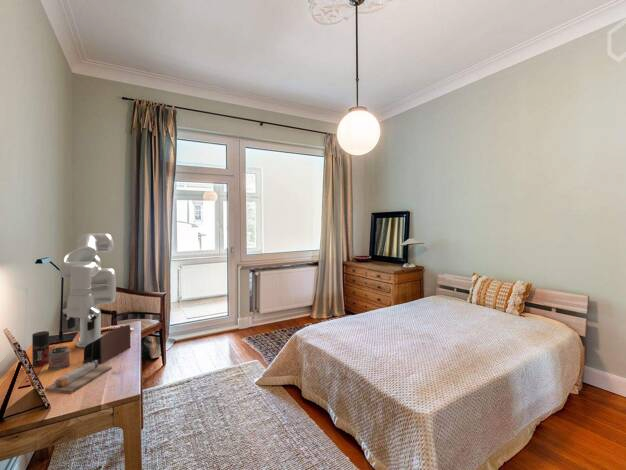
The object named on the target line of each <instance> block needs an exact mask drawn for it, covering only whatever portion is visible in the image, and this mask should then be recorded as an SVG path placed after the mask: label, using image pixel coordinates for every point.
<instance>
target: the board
mask: <svg viewBox="0 0 626 470" xmlns="http://www.w3.org/2000/svg"><path fill="white" fill-rule="evenodd" d="M112 369H113V367H112V366H109V365H108V366H107V365H100V364H97V368H95V369H94V370H92V371H90V372H88V373H87V374H85V375H83V376H81V377H80V378H78V379H76V380H74V381H72V382H71V383H69V384H67V385H66V386H64V387H56V382H54V383H52V384H50V385H48V386H46V387H45V389H44V390H45V392H55V393H69V394H73V393H75V392H76V391H78V390H79V389H80V388H82V387H84V386H86V385H87V384H89V383H91V382H92V381H94V380H96V379H98V378H99V377H100V376H102V375H103V374H106V373H107V372H109V371H110V370H112Z"/></svg>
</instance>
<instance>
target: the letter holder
mask: <svg viewBox="0 0 626 470" xmlns="http://www.w3.org/2000/svg"><path fill="white" fill-rule="evenodd" d="M131 340H132V339H131V325H130V324H125V325H122V326H120V327H117V328H114V329H112V330H111V331H108V332H106V333H105V334H103V335H101V338H99V339H97V340H95V341H93V342H91V343H89V344H88V345H86V346H85V347H83V363H86V364H87V363H89V362H91V363H92V361H93V360H97V363H98V364H97V365H100V364H101V365H103V363H106V362H107V361H109V360H111V359H113V358H115V357H116V356H119V355H121V354H122V353H124V352H126V351H128V350H130V349H131V347H132V345H131Z"/></svg>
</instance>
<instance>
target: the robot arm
mask: <svg viewBox="0 0 626 470" xmlns="http://www.w3.org/2000/svg"><path fill="white" fill-rule="evenodd" d="M114 242H115V241H114V240H113V237H112V235H111V234H109V233H106V232H105V233H104V232H103V233H101V232H100V233H98V232H97V233H95V232H94V233H93V232H89V233H88V232H87V233H84V234H82V235H80V237H79V239H77V240H76V242H75V245H76V249H74V250H72V251H70V252H68V253H67V254H65V255H64V256H63V258H62V260H61V263H60V265H59V275H60V276H61V278H63V279H69V280H70V281H69V282H70V285H69V286H70V288H69V289H68V291H69V292H70V294H68V297H67V303H66V308H64V309H62V313H63V315H64V317H65V320H66V321H67V329H68V330H71V329H73V328H75V326H76V319H79V341H76V347H77V348H85V346H86V345H88V344H89V343H91V342H93V341H95V340H97V339H99V338H101V337H102V335H101V333H102V312H101V309H100V308H99V307H98V306H97V305H106V304H112V303H114V302H115V300H116V296H117V274H116V271H115V269H114V268H113V267H112V268H111V267H108V268H107V267H105V268H102V267H101V266H102V264H101V263H102V261H101V258H100V257H99V256H98V254H99V253H111V252H113V250H114V247H115V246H114V245H115V244H114ZM103 285H104V286H103ZM92 286H98V287H92ZM99 286H100V287H99Z"/></svg>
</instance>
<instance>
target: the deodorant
mask: <svg viewBox="0 0 626 470" xmlns="http://www.w3.org/2000/svg"><path fill="white" fill-rule="evenodd" d="M31 337H32V339H31V340H32V343H31V345H32V356H31V357H32V360H31V361H32V365H31V366H32V367H33V366H34V368H40V367H43V366H47V365H49V355H48V353H50V331H45V330H44V331H37V332H35V333H33V334H32V335H31Z"/></svg>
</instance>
